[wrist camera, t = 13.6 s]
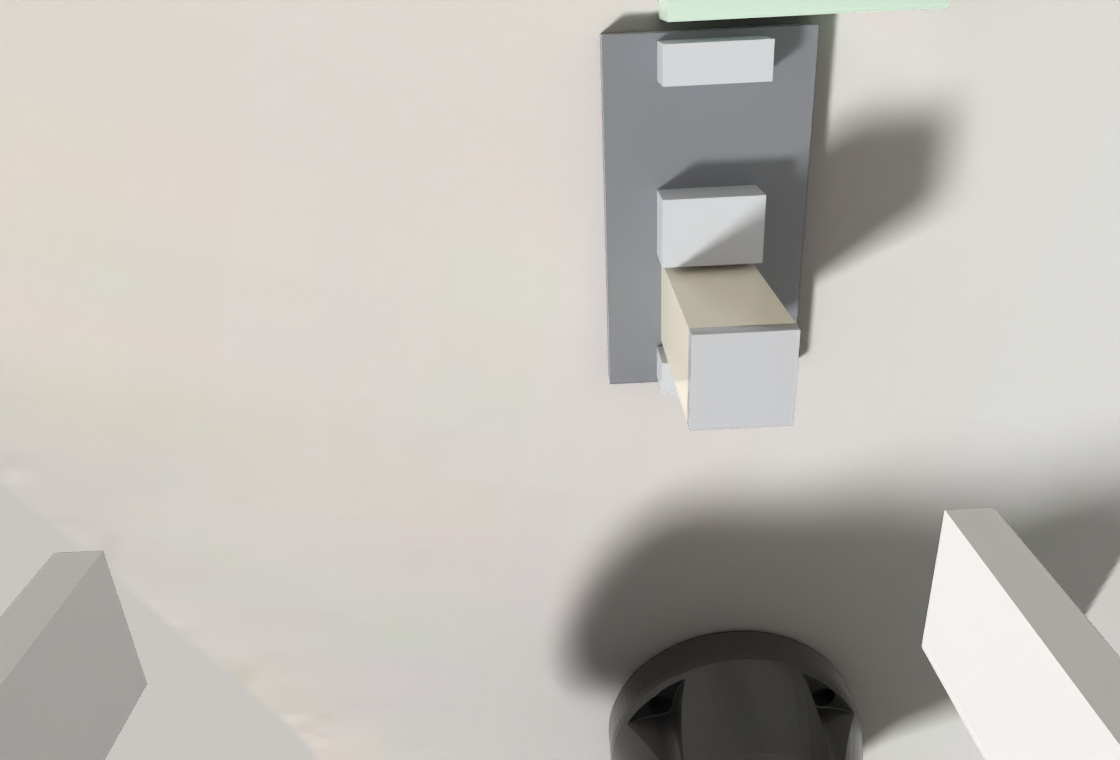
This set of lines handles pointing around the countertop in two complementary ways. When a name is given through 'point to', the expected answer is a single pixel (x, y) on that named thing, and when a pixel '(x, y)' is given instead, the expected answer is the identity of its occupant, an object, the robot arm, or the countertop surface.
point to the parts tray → (781, 8)
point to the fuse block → (700, 169)
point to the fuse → (729, 347)
